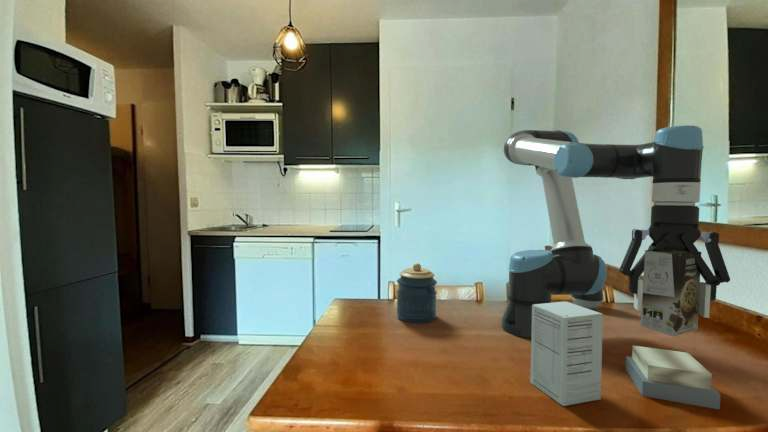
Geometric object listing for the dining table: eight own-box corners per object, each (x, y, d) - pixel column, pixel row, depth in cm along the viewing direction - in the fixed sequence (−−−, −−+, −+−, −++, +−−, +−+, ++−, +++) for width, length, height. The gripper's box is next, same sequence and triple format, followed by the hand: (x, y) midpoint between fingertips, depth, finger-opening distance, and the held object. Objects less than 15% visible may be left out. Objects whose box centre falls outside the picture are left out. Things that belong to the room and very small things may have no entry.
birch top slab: (647, 379, 70) (648, 365, 70) (632, 358, 79) (632, 345, 79) (710, 389, 67) (711, 374, 66) (686, 366, 76) (687, 352, 76)
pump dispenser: (564, 303, 133) (565, 263, 132) (589, 302, 134) (591, 262, 133) (582, 311, 123) (583, 268, 122) (609, 310, 124) (611, 268, 123)
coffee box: (676, 337, 68) (680, 253, 67) (639, 326, 73) (642, 249, 73) (699, 330, 72) (703, 251, 71) (662, 320, 78) (665, 247, 77)
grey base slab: (641, 398, 70) (642, 381, 69) (625, 371, 81) (626, 356, 81) (719, 412, 65) (720, 394, 65) (690, 381, 76) (691, 365, 76)
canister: (444, 318, 114) (445, 264, 113) (413, 326, 106) (414, 268, 106) (418, 308, 124) (419, 258, 124) (388, 314, 117) (389, 262, 116)
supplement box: (602, 400, 68) (606, 313, 67) (563, 408, 65) (566, 318, 64) (564, 376, 77) (566, 300, 76) (528, 382, 74) (530, 303, 74)
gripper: (613, 203, 72) (609, 310, 73) (760, 205, 64) (753, 326, 65) (605, 203, 79) (601, 301, 80) (737, 205, 71) (731, 313, 72)
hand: (669, 312), depth 72 cm, fingers closed on coffee box, 10 cm apart
